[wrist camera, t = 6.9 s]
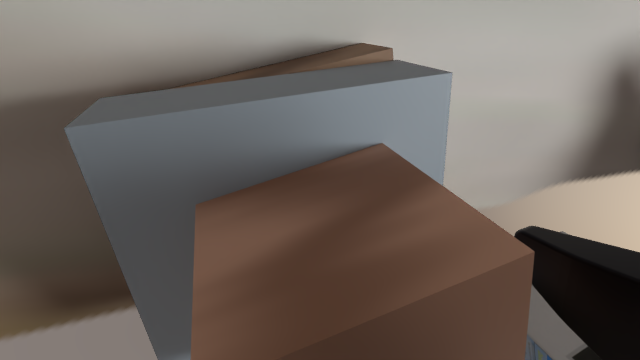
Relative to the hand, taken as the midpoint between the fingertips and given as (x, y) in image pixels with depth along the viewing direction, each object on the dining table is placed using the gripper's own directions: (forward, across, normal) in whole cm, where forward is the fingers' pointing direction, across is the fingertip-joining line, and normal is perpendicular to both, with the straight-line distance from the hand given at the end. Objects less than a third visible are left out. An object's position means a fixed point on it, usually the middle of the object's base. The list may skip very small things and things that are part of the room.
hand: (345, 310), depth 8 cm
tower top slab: (+6, 0, 0) cm, 6 cm away
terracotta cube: (+3, 0, 0) cm, 3 cm away
